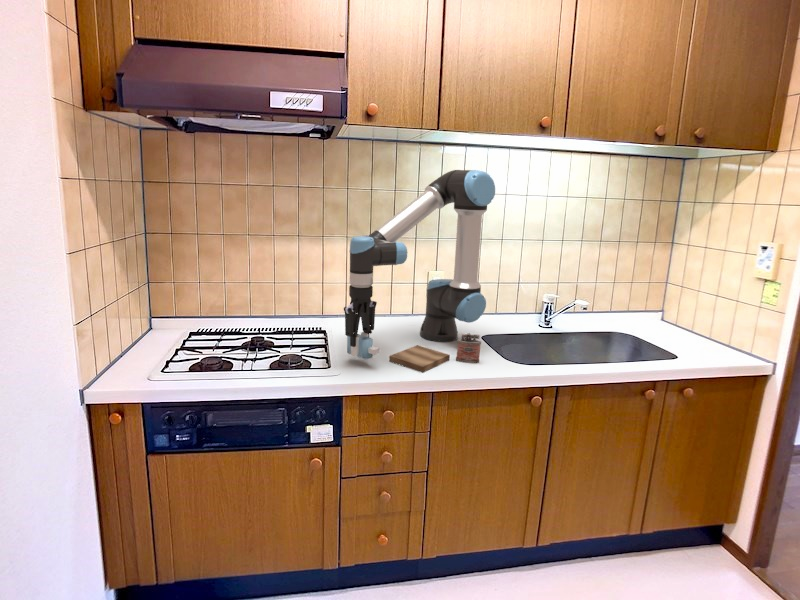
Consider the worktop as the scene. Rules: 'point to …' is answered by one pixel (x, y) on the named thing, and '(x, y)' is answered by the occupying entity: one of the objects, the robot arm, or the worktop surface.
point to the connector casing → (364, 347)
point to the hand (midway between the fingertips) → (359, 353)
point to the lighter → (468, 349)
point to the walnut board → (419, 358)
